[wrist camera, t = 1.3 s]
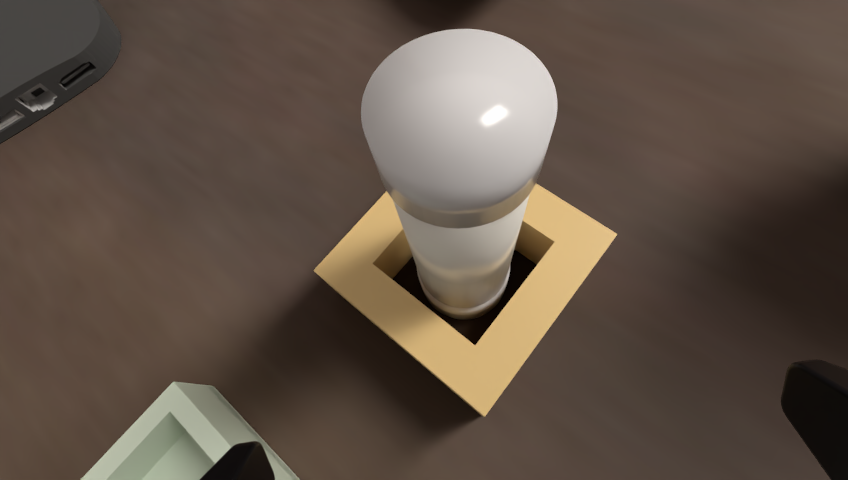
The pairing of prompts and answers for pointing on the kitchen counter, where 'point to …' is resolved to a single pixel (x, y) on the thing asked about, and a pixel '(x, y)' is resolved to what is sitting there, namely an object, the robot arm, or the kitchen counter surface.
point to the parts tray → (181, 439)
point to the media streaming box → (50, 56)
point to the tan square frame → (512, 329)
